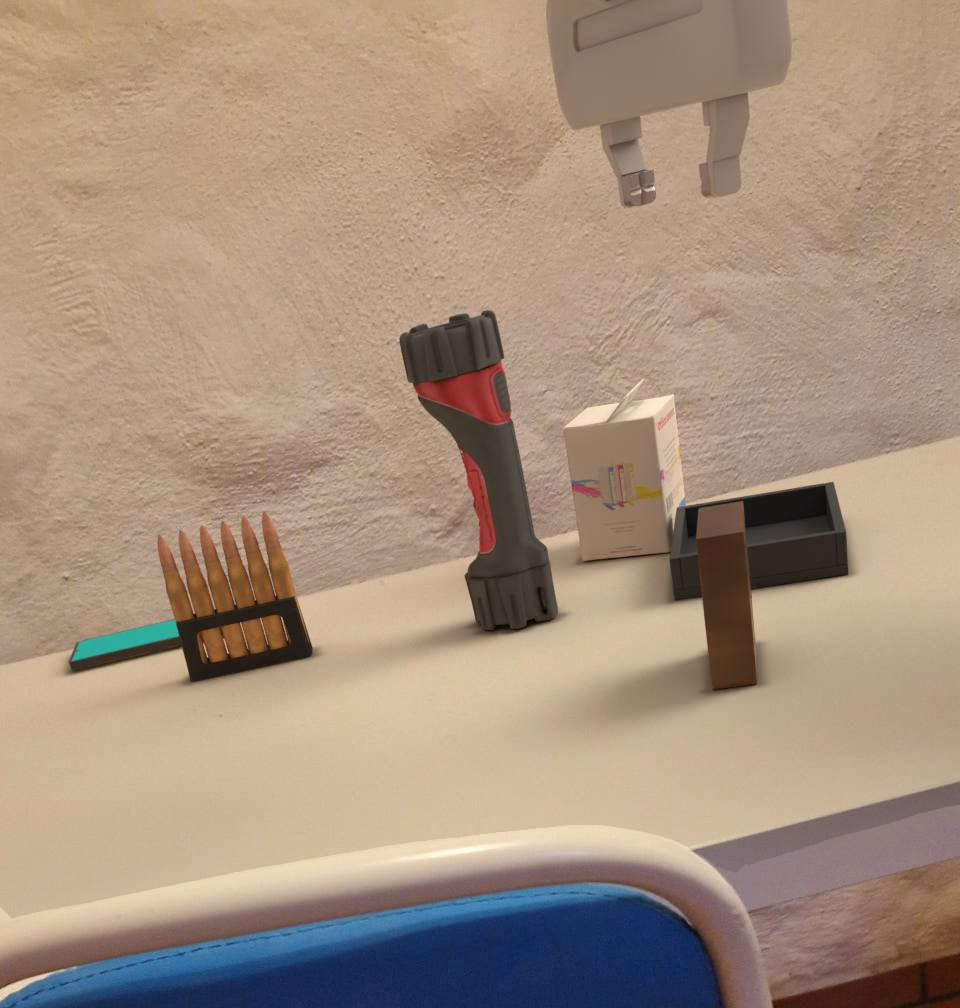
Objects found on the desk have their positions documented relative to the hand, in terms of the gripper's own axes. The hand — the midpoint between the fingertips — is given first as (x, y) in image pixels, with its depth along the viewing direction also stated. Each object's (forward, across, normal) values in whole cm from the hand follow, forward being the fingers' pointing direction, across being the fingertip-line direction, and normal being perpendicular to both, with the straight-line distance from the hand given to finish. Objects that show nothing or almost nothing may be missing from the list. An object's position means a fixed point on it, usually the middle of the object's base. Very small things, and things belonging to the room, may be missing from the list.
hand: (678, 201), depth 84 cm
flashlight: (+28, +24, +6) cm, 38 cm away
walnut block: (+28, -2, 0) cm, 28 cm away
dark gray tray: (+28, +19, -16) cm, 37 cm away
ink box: (+28, +34, -12) cm, 46 cm away
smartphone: (+28, +52, +30) cm, 67 cm away
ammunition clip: (+28, +35, +25) cm, 52 cm away
